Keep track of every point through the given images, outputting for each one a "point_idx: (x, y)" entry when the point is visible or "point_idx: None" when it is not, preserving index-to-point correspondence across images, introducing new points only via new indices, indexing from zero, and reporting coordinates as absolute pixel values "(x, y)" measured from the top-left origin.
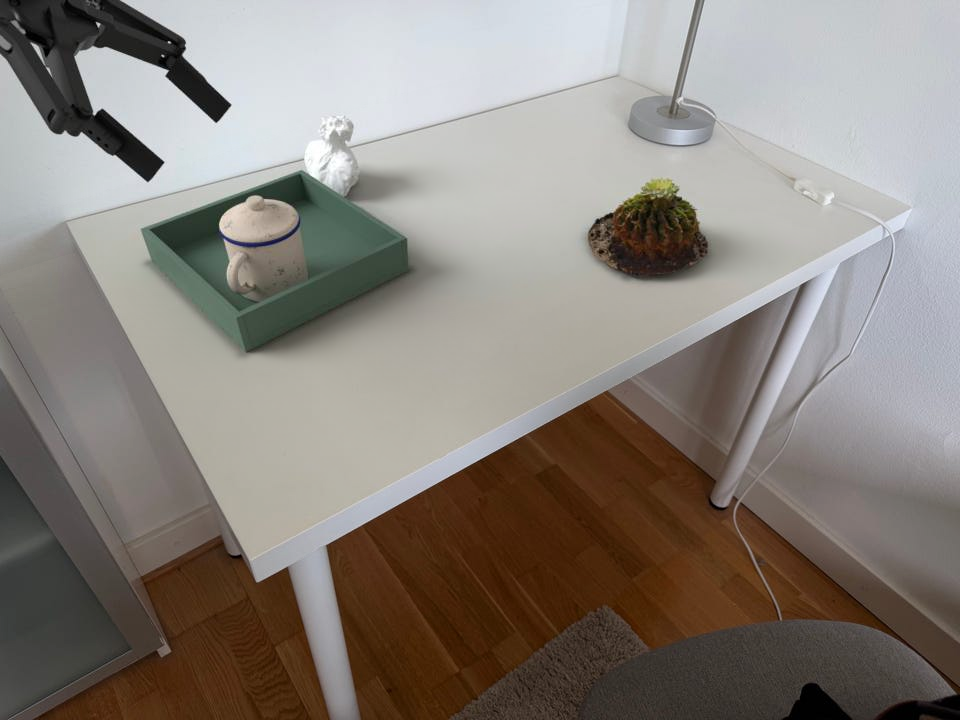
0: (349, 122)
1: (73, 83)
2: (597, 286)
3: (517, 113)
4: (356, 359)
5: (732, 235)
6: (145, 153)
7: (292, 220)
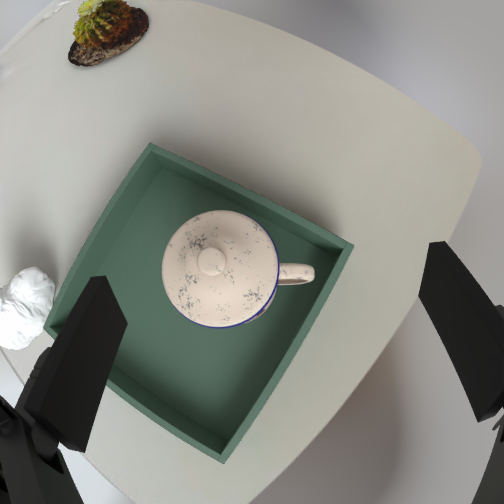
0: None
1: None
2: (160, 41)
3: None
4: (312, 153)
5: None
6: (463, 264)
7: (210, 214)
